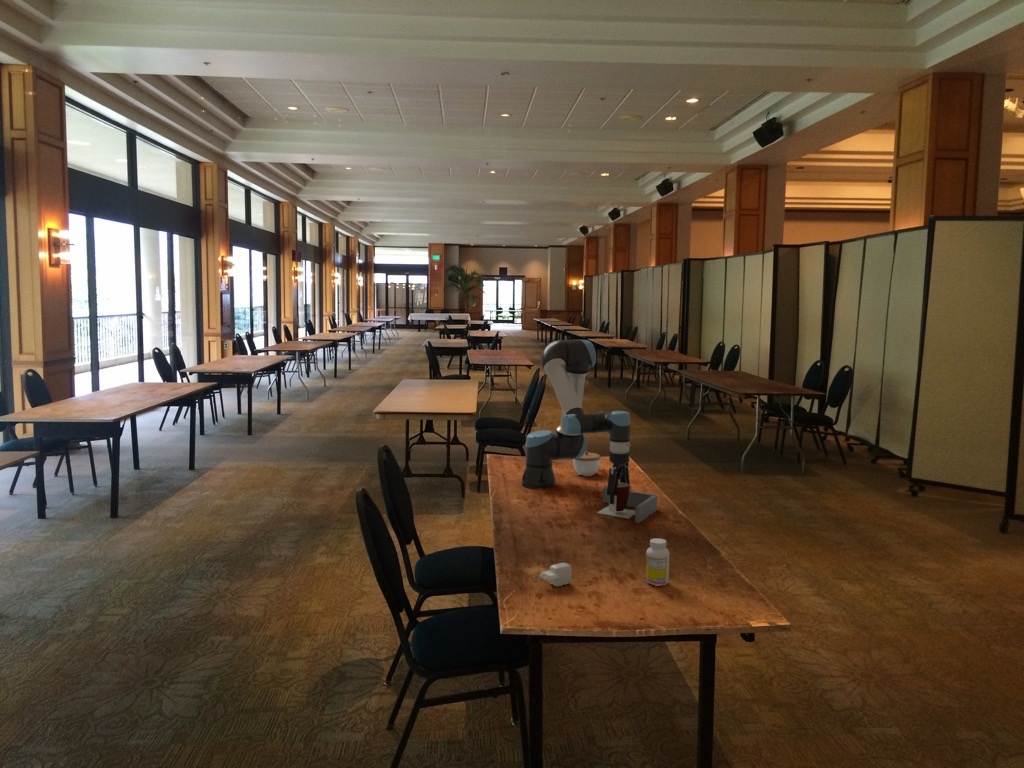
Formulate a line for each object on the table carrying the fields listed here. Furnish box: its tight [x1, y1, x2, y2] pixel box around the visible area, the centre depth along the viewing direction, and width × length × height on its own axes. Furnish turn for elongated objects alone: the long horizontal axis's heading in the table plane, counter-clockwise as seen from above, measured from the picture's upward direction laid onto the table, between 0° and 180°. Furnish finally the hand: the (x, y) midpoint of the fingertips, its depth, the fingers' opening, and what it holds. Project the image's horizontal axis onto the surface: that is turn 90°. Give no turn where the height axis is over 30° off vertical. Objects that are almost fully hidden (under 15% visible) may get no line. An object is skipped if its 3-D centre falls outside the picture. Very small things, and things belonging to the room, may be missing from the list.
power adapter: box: [534, 562, 573, 587], centre depth 219 cm, size 11×5×6 cm, turn 122°
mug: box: [616, 481, 631, 511], centre depth 292 cm, size 10×8×10 cm
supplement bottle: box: [645, 537, 670, 585], centre depth 222 cm, size 7×7×13 cm
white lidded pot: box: [572, 450, 601, 477], centre depth 352 cm, size 13×13×11 cm
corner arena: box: [597, 486, 658, 524], centre depth 293 cm, size 22×20×6 cm
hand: (617, 508), depth 292 cm, fingers closed on mug, 10 cm apart
